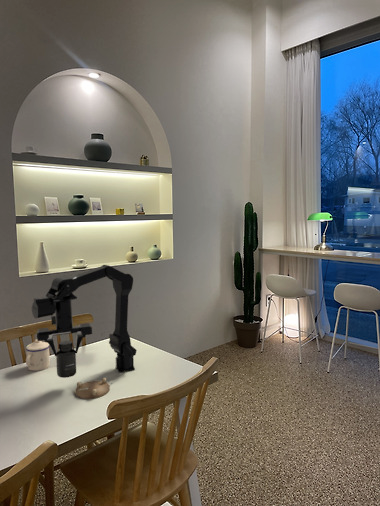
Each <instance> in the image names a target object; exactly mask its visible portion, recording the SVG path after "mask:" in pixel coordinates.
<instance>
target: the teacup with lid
mask: <svg viewBox="0 0 380 506" xmlns="http://www.w3.org/2000/svg"><path fill="white" fill-rule="evenodd" d="M25 350H26V357H25V364H26V366H27V369H28V370H29V371H35V372H37V371H38V372H39V371H43V370H46V369H48V368H49V367H50V365H51V361H50V360H51V359H50V357H51V356H50V345H49V344H48V342H45V341H37V338H36V339H35V340H34V341H33V342H32V343H29V344H28V345H27V346H26V348H25Z"/></svg>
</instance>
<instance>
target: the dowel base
mask: <svg viewBox="0 0 380 506" xmlns="http://www.w3.org/2000/svg"><path fill="white" fill-rule="evenodd" d="M74 390H75V391H74V392H75V395H76V397H78V398H80V399H84V400H90V399H91V400H92V399H98V398H100V397H101V398H102V397H103V396H106V395H107V394H108V393H109V392H110V390H111V388H110V384H109V383H108V382H107V379H106V377H103V378H101V380H91V381H85V382H83V383H81V381H78V382H76V387H75V389H74Z"/></svg>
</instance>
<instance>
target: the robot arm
mask: <svg viewBox="0 0 380 506" xmlns="http://www.w3.org/2000/svg"><path fill="white" fill-rule="evenodd" d="M104 278H108V279H109V280H111V281H112V288H113V290H114V292H115V315H114V316H115V317H114V320H115V321H114V331H113V332H112V333H109V334H108V335H109V341H108V344H109V346H110V348H111V349H112V350H113V351H114V353H116V356H115V368H116V369H117V370H118V373H123V372H127V371H128V372H129V371H136V368H135V366H134V361H135V360H134V356H136V355H137V349H136V348H135V347H134V346H132V342H131V341H132V340H131V336H130V334H129V332H128V319H129V318H128V317H129V313H128V311H129V295H130V293H131V291H132V290H133V286H134V278H133V276H132V274H130V273H128V272H127V273H126V272H123V271H120V270H118V269H116V268H115V267H113V266H112V265H109V264H102V265H101V266H98V267H95V268H92V269H90V270H87V271H84V272H81V273H78V274H75V275H65V276H64V275H63V276H60V277H59V276H58V277H55V278H54V279H53V280H52V282H51V286H50V288H49V289H48V291H47V292H46V294H45V297H37V298H33V303H32V304H31V313H32V316H33V318H34V319H35V320H36V319H42V318H45V317H51V326H54V325H55V329H52V330H49V329H50V328H49V327H43V328H38V329H37V331H36V339H37V341H42V342H47V343H48V344H49V345H50V346H49V348H51V350H52V352H53V355H54V357H56V353H57V348H56V343H55V339H54V338H55V336H60V335H62V336H63V335H67V334H69V335H70V334H76V335H75V348H74V349H75V351H76V354H78V351H79V348H80V346H81V345H80V344H81V343H82V341H83V338H86V336H87V335H88V336H89V335H93V328H92V325H91V323H90V322H86V323H79V326H78V327H77V326H76V327H73V326H74V324H73V308H72V307H73V306H72V305H73V303H72V301H73V300H77V299H78V297H77V296H76V295H75V294H74V292H75V291H77V290H78V289H79V288H80V287H82V286H84V285H88V284H90V283H93V282H95V281H99V280H101V279H104ZM53 315H54V316H53Z"/></svg>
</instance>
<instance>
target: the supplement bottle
mask: <svg viewBox="0 0 380 506" xmlns="http://www.w3.org/2000/svg"><path fill="white" fill-rule="evenodd" d="M73 344H74V343H73V341H71V340H63V341H60V342H58V350H56V356H55V357H56V360H55V361H56V374H57V375H56V376H57V377H59V378H63V379H65V378H66V379H67V378H70V377H71V378H72V377H73V376H75V375H76V374H77V353H76V350H75V348H74V345H73Z"/></svg>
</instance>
